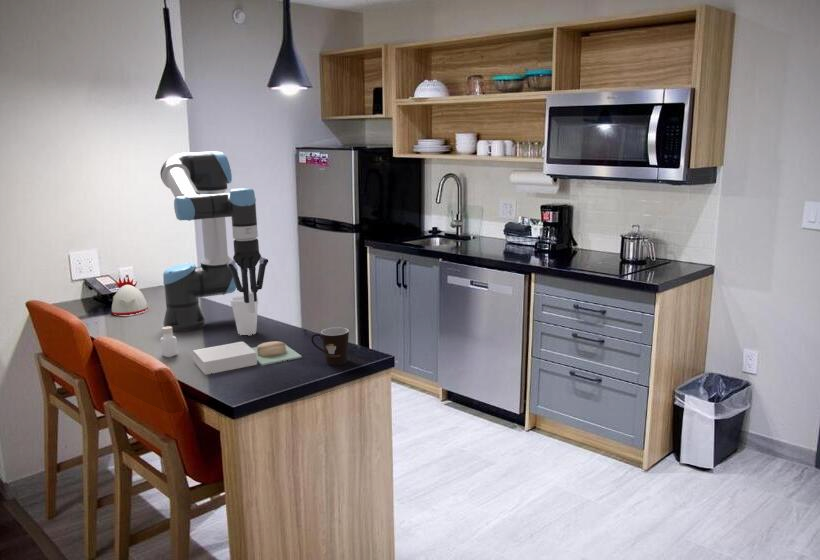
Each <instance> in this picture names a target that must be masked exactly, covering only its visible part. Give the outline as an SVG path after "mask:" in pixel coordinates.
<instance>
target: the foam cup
mask: <svg viewBox="0 0 820 560" xmlns="http://www.w3.org/2000/svg"><path fill="white" fill-rule="evenodd" d="M230 305H231V307H232V308H231V309H232V312H233V316H234V318H233V319H234V322H235V327H236V330H237V333H238V335H239V334H240V335H239V336H241V335H248V336H253V335H256V333H257V325H258V324H257V323H258V306H259V297H258V296H257V302H254V305H255V313H249V312H248V307H247V303H245V302H244V295H239V296H235V297H232V298H231V299H230ZM252 334H253V335H252Z"/></svg>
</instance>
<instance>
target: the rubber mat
mask: <svg viewBox="0 0 820 560" xmlns="http://www.w3.org/2000/svg"><path fill="white" fill-rule="evenodd" d="M285 346H286V353H284V354H283V355H280V356H276V357H261V356H259V355H258V351H257V346H253V347H250V348H251V349H253V350H254V351H255V352H256V357H257V363H259V364H260V366H262V367H263V366H268V365H272V364H273V365H274V364H278V363H283V362H287V360H288V361H292V360H298V359H302V355H301V354H300V353H298V352H296V350H294V349H292V348H291V347H289V346H288V345H287V344H285ZM282 361H283V362H282ZM277 362H278V363H277Z"/></svg>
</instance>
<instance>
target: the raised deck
mask: <svg viewBox="0 0 820 560" xmlns="http://www.w3.org/2000/svg"><path fill="white" fill-rule="evenodd" d="M251 348H252V347H251V346H249V344H247V343H245V342H244V341H243V340H242V341H236V342H233V343H232V342H231V343H226V344H221V345H215V346H208V347H203V348H199V349H193V350H192V352H193V353H192V354H193V363H194V364H195V365H196V366H197V367H198V368H199V369H200V371H201V372H202V373H203V374H204V375H205V376H207V375H211V373H212V374H217V373H221V372H227V371H233V370H237V369H241V368H242V369H243V368H247V367H251V366H257V365H258V362H257V357H256V352H255V351H254V350H253V349H251ZM206 374H207V375H206Z"/></svg>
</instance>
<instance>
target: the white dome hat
mask: <svg viewBox="0 0 820 560" xmlns="http://www.w3.org/2000/svg"><path fill="white" fill-rule="evenodd" d="M137 283H138V281H135V283H134V278H132V279H131V281H130V277H129V276H127V279H126V277H123V282H122V280H121V278H120V277H119V278H118V281H116V280H115V284H116V285H117V287H118V289H117V291H116V292H115V294H114V295H113V296H112V304H111V314H112V313H113V314H116V315H130V314H136V313H139V312H142V311H145V310H146V309H148V310H149V305H148V303H147V300H146V298H145V296H144V294H143V292H142V291H141V290H140V289H139V288H138V287H136V286H137Z"/></svg>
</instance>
